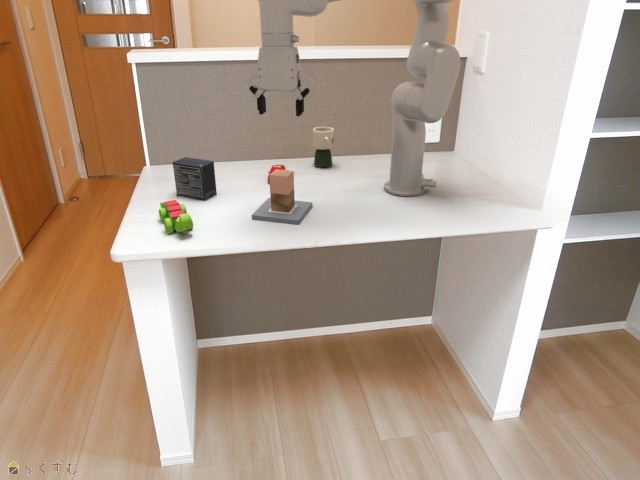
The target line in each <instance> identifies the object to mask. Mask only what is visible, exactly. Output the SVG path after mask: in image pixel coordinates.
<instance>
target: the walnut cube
mask: <svg viewBox="0 0 640 480" xmlns="http://www.w3.org/2000/svg"><path fill="white" fill-rule="evenodd" d="M269 193H270V192H269ZM270 198H271V211H278V212H287V213H289V212H290V211H291V210H292V208H293V207H294V206H295V201H296V200H295V188H294V189H293V190H292V191H291V192H290V193H289V194H288V195H284V194H274V193H270Z"/></svg>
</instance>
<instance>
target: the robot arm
mask: <svg viewBox="0 0 640 480" xmlns="http://www.w3.org/2000/svg"><path fill="white" fill-rule="evenodd" d="M337 1H338V2H339V1H340V0H259V1H258V2H259V3H258V4H259V5H258V6H259V18H260V22H259V23H260V37H261V46H260V47H259V49H258V56H257V72H255V73H253V74H252V75H250V76H248V77H247V78H246V79H245V83H246V85H247V86H248V88H249V91H250V92H251V93H252V94H253V95H254V97H255V98H256V103H257V104H256V106H257V108H256V109H257V111H258V113H259V115H260V116H261V115H263V114H264V115H265V113H266V112H267V102H266V101H267V100H266V96H264V94H265V92H267V91H268V92H285V93H286V92H287V93H288V92H292V93H293V94H294V96H295V97H296V100H295V116H296V117H301V116H302V115H303V113H304V112H305V98H306V97H307V96H308V94H309V93H310V92H311V90H312V88H313V86H314V84H315V80H314V79H313V78H310V77H309V76H307V75H305V74H304V73H302V68H301V61H300V60H301V59H300V53H299V48H298V46H295V44H296V43H299V42H300V36H299V35H295V32H294V16H298V17H299V16H301V17H307V18H308V17H309V18H311V17H316V16H319V15H321V14H323V12H324V11H325V10H326V9H327V7H328V4H329V3H333V2H337ZM454 1H456V0H412V2H413V4H414V6H415V9H416V10H415V11H416V13H417V23H416V28H415V32H414V35H413V39H412V41H411V46H410V49H409V53H408V56H407V60H406V61H407V62H406V67H407V71H408V73H409V74H410V75H412V76H413V77H416V78H419V79H422V80H424V81H425V82H424V83H421V82H417V81H404V82H402V83H400V84H398V85H397V86H396V87H395V89H394V90H393V92H392V95H391V101H390V103H391V114H392V141H391V152H390V153H391V154H390V156H391V157H390V166H389V167H390V169H389V171H390V172H389V180H388V181H386V182H384V185H383V189H384V190H385V192H387V193H388V194H391V195H395V196H398V197H399V196H400V197H401V196H402V197H416V196H419V195H423V194H424V193H425V192H426V189H427V187H429V188H433V189H436V188H437V187H436V186H437V181H436V180H434V179H433V178H426V177H424V173H423V167H424V166H423V165H424V156H425V155H424V154H425V145H426V144H425V143H426V136H427V133H426V132H427V129H426V124H435V123H438V122H439V121H441V120H442V119H443V118H444V116H445V115H446V113H447V112H448V109H449V106H450V103H451V100H452V96H453V93H454V90H455V87H456V84H457V81H458V77H459V75H460V71H461V55H460V53H459V50H458V49H457V48H456V47H455V46H453V45H451V44H448V43H446V39H447V35H448V32H449V31H448V30H449V27H450V14H449V10H448V9H449V8H448V6H447V4H450V3H453V2H454ZM255 80H257V84H258V86H256V85H255V83H254V82H255ZM302 83H305V84H306V85H305V88H304V89H303V90H302V88H301V87H303V86H302V85H303V84H302Z"/></svg>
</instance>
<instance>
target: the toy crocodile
mask: <svg viewBox="0 0 640 480" xmlns="http://www.w3.org/2000/svg"><path fill="white" fill-rule="evenodd" d="M159 205H160V208H159V209H158V214H159V218H160V221H161V222H162V223H163V224H164V225H163V226H164V229H165V232H166V234H167V233H169V234H173V233H174V230H175V231H176V232H178V233H180V232H184V231H189V229H190V230H193V228H194V223H193V219H192V218H191V215H190V214H189V213H188V211H187V208H186V205H185V204H184V203H180V202H178V201H177V199H170V200H165V201H160V202H159Z"/></svg>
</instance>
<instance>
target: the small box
mask: <svg viewBox="0 0 640 480" xmlns="http://www.w3.org/2000/svg"><path fill="white" fill-rule="evenodd" d="M214 162H215V161H214V160H208V159H201V158H196V157H195V158H193V157H189V156H188V157H186V156H185V157H181V158H180V159H176V160H174V161H172V168H173V174H174V175H173V176H174V181H175V182H174V183H175V190H176V197H181V198H188V199H191V200H193V199H194V200H197V201H203V202H205V201H207V200H209V199H211V198H213V197H214V196H216V195H217V193H218V192H217V183H216V172H215V164H214Z"/></svg>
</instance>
